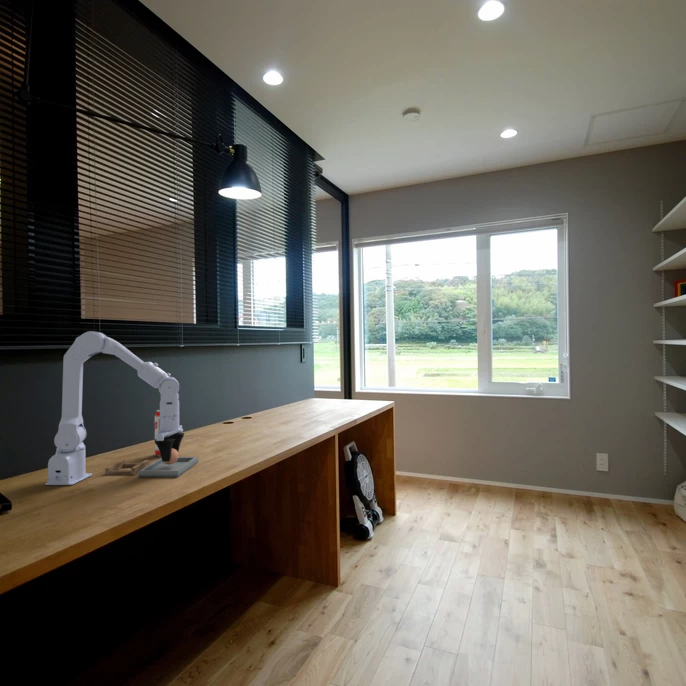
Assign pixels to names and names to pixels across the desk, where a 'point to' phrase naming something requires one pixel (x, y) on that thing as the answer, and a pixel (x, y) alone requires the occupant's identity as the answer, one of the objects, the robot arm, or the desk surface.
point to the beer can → (157, 430)
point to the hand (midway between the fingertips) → (170, 458)
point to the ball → (172, 457)
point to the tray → (168, 468)
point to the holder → (134, 470)
